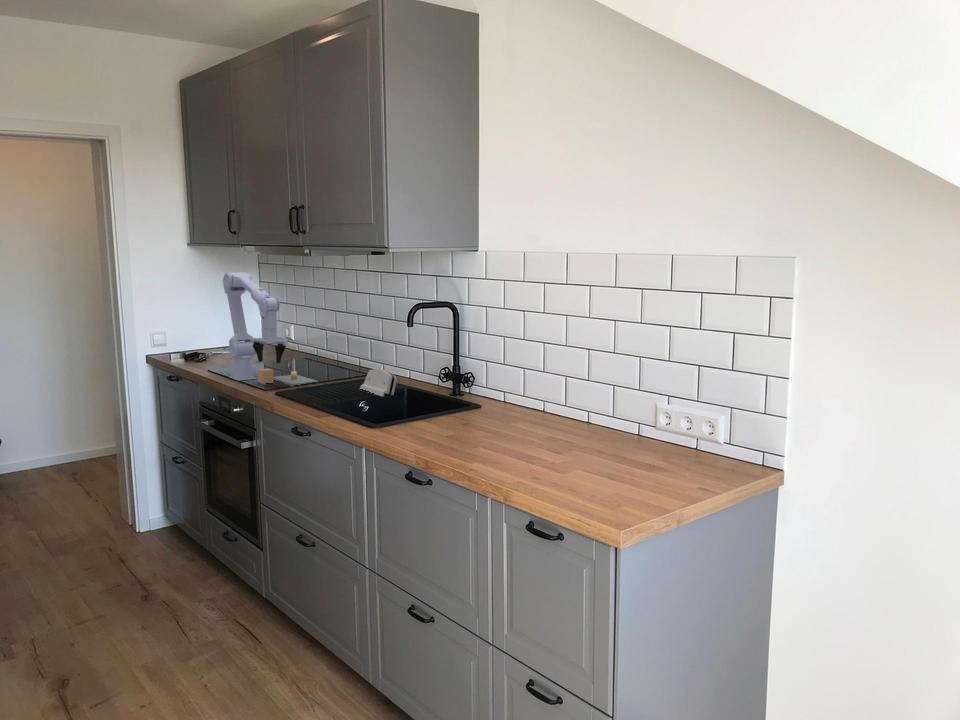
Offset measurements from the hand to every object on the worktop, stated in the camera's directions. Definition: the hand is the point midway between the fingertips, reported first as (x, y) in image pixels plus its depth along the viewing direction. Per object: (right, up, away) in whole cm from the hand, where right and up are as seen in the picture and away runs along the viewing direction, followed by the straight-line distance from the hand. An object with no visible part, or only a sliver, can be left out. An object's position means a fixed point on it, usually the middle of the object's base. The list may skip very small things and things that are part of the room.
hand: (269, 362), depth 314 cm
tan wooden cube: (-3, -9, +7) cm, 11 cm away
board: (+7, -8, +12) cm, 16 cm away
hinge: (+44, -12, -5) cm, 46 cm away
